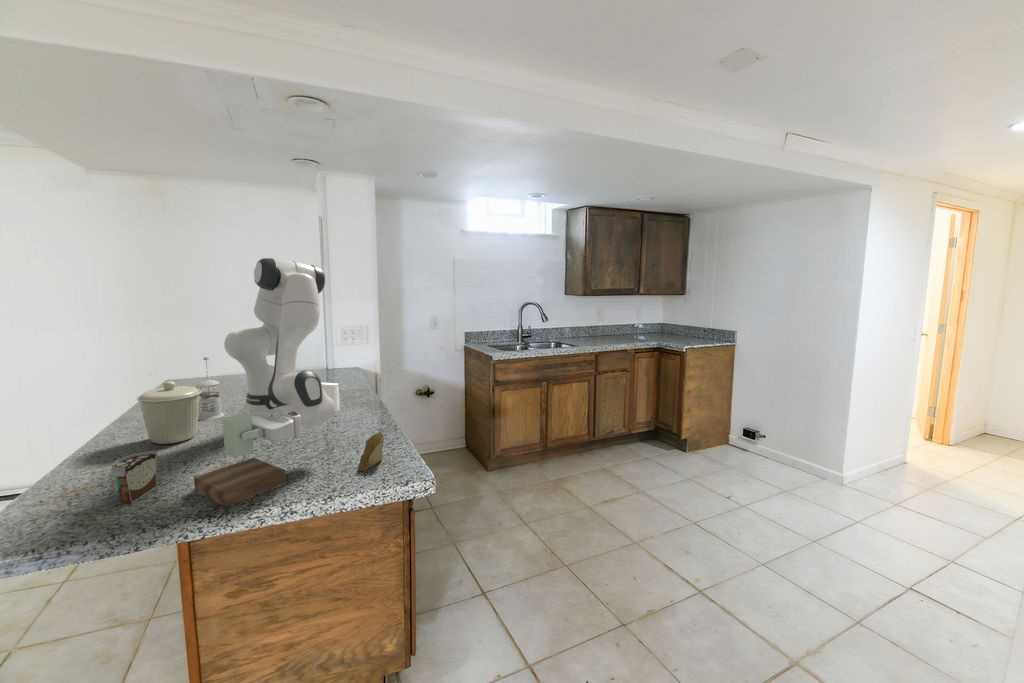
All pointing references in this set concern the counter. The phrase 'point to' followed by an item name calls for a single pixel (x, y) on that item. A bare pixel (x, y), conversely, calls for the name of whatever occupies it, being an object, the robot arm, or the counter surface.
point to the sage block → (237, 435)
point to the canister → (170, 412)
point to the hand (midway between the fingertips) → (234, 434)
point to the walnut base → (239, 481)
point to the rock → (371, 452)
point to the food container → (135, 475)
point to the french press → (209, 400)
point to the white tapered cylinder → (332, 393)
